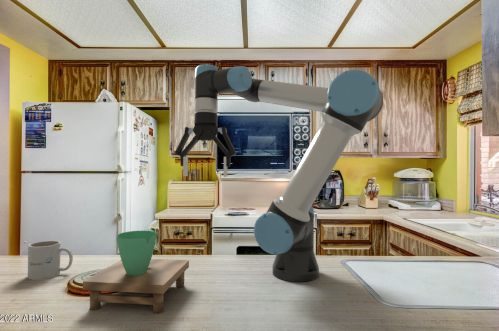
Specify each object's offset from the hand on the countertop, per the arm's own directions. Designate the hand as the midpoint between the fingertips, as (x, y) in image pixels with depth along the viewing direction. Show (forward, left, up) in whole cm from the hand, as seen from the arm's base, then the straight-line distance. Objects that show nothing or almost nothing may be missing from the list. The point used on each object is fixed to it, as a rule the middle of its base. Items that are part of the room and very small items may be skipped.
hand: (205, 176), depth 103 cm
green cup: (+12, +21, -25) cm, 35 cm away
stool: (+12, +21, -32) cm, 40 cm away
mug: (+48, +9, -32) cm, 58 cm away
